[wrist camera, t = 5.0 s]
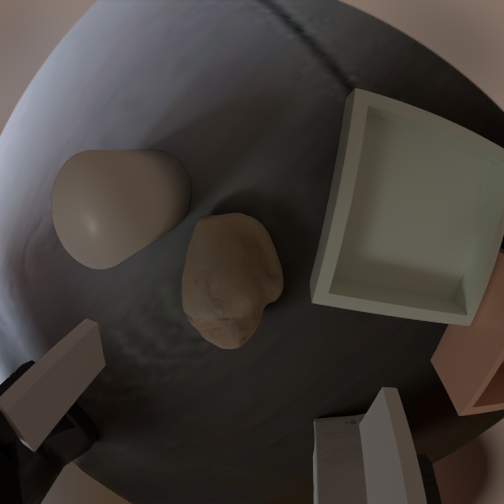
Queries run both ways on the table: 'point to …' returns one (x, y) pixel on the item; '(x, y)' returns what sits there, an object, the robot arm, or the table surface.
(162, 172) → the beige rounded capsule
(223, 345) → the stone
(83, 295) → the table surface
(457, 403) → the pink open box
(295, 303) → the table surface
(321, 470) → the skincare box
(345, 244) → the green dish
